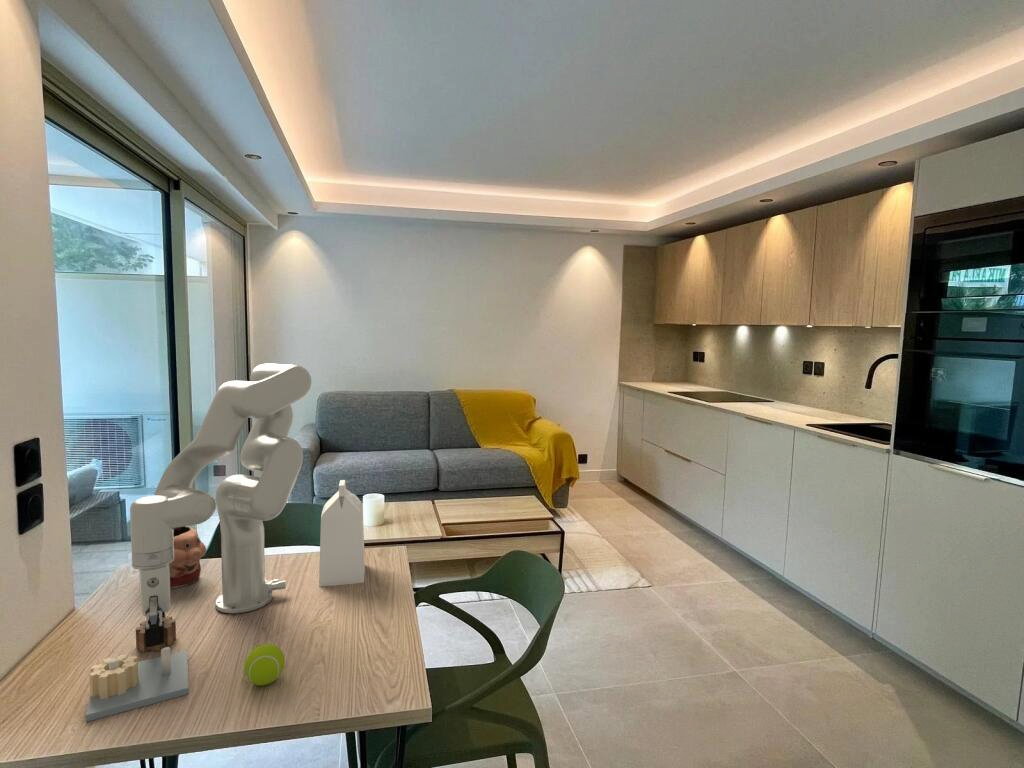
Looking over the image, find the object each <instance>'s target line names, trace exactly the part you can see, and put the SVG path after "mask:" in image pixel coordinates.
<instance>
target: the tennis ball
mask: <svg viewBox="0 0 1024 768" xmlns="http://www.w3.org/2000/svg"><path fill="white" fill-rule="evenodd" d="M285 659H286V658H285V654H284V652H283V650H282V649H281V648H280V647H279V646H277V645H276V644H272V643H265V644H261V645H259V646H256V647H255V648H253V649H252V651H251V652H249V654H248V655H247V657H246V660H245V661H244V665H243V666H244V675H245V677H246V679H247V680H248V682H250V683H251V684H253V685H255V686H266V685H270V684H272V683H273V682H275V681H277V679H278V678H279V677H280V676H281V674H282V673H283V671H284V668H285V663H286V660H285Z"/></svg>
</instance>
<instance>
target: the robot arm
mask: <svg viewBox="0 0 1024 768" xmlns="http://www.w3.org/2000/svg"><path fill="white" fill-rule="evenodd" d="M249 380H250V381H248V380H229V381H227V382H223V384H221V385H220V386H219V387H218V389H217V390H216V393H215V395H214V397H213V399H212V401H211V403H210V405H209V407H208V410H207V412H206V414H205V415H204V416H205V417H204V418H203V420H202V423H201V425H200V427H199V429H198V431H197V434H196V436H195V437H194V439H193V440H192V441H191V442H190V443H189V444H188V445H187V446H185V447H184V448H183V449H182V450H181V451H180V452H179V453H178V454H177V455H176V456H175V457H174V458H173V459H172V460H171V462H170V463H169V464H168V465H167V467H166V468H165V470H164V472H163V474H162V476H161V478H160V480H159V482H158V484H157V487H156V489H155V491H154V494H153V495H148V496H143V497H141V498H137V499H135V500H134V501H133V502H132V503H131V504H130V508H129V514H130V516H129V518H130V520H129V521H130V548H131V550H130V552H131V568H133V569H134V570H138V576H139V577H138V578H139V579H138V580H139V594H140V595H139V596H140V604H141V612H142V613H141V614H142V616H143V617H145V618H146V619H145V621H146V628H145V642H146V647H152V646H156V645H160V644H163V643H164V624H162V617H164V618H165V617H166V613H169V612H170V610H171V588H170V569H169V564H170V563H171V562H173V561H174V530H173V529H174V528H177V527H184V526H187V527H191V526H196V525H200V524H203V523H205V522H206V521H208V520H209V519H211V517H212V516H213V515H214V513H215V511H216V510H217V514H218V520H219V525H220V550H221V552H220V553H221V555H220V556H221V585H222V586H221V587H222V589H221V590H222V594H221V595H219V596H218V597H217V598H216V600H215V603H214V604H215V606H214V607H215V608H216V611H219V612H221V613H224V614H241V613H246V612H247V613H248V612H251V611H255V610H257V609H260V608H262V607H264V606H266V605H268V604H269V603H270V602H271V600H272V598H273V591H277V590H284V589H286V580H282V581H281V580H279V578H276V579H273V580H269V579H267V578H266V564H265V562H266V561H265V559H266V558H265V526H264V522H265V521H271V520H273V519H275V518H276V517H278V516H279V515H280V514H281V513H282V511H283V510H284V508H285V506H286V505H287V502H288V501H289V498H290V496H291V493H292V491H293V489H294V487H295V483H296V482H297V478H298V476H299V474H300V472H301V469H302V465H303V463H304V462H303V461H304V454H303V453H304V452H303V447H302V446H301V444H300V442H298V440H296V439H294V438H292V437H290V436H288V434H289V433H290V432H289V431H290V430H291V428H292V427H291V426H292V423H293V419H294V415H293V408H292V404H294V403H296V402H297V401H299V400H301V399H303V398H305V396H306V395H307V394H308V392H309V391H310V389H311V387H312V376H311V374H310V373H309V371H308V370H307V369H306V368H305V367H303V366H301V365H298V364H288V363H287V364H283V363H262V364H258V365H257V366H255V367H254V368H253V369H252V371H251V373H250V379H249ZM249 418H250V419H255V420H254V422H253V425H252V426H251V429H250V431H249V433H248V436H247V437H246V440H245V442H244V444H243V447H242V448H241V450H240V451H241V452H240V456H239V460H240V463H241V465H242V466H243V467H244V468H246V469H247V470H249V471H252V472H253V471H254V472H257V473H261V474H260V477H258V476H253V475H249V474H242V473H241V474H233V475H229V476H227V477H226V478H224V479H223V480H221V482H220V483H219V484H218V486H217V489H216V492H215V496H214V497H215V498H214V497H213V495H211V494H210V493H209V492H207V491H204V490H200V489H196V488H192V485H193V483H194V482H195V480H196V478H197V476H198V475H199V474H200V472H201V471H202V470H203V469H204V468H206V467H207V466H208V465H209V464H212V463H213V462H214V461H217V460H219V459H222V458H224V457H225V456H228V455H230V454H232V453H233V452H234V451H235V449H236V446H237V444H238V441H239V440H240V437H241V434H242V432H243V430H244V428H245V425H246V423H247V421H248V419H249ZM263 521H264V522H263Z"/></svg>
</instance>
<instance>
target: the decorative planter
mask: <svg viewBox="0 0 1024 768" xmlns="http://www.w3.org/2000/svg"><path fill="white" fill-rule="evenodd" d="M173 530H174V561H173V562H171V563H170V564H169V569H170V589H175V588H180V587H181V588H182V587H186V586H187V585H188V586H189V585H190V584H193V583H194V582H196V581H197V580H199V579H200V575H201V570H202V569H201V562H200V561H201V558H203V557H204V556H205V555H206V553H207V547H206V545H205V543H204V542H203V541H202V540H201V539H200V537H199V535H198V534H199V533H198V531H197V530H196V529H194V528H192V527H191V526H184V527H177V528H174V529H173Z"/></svg>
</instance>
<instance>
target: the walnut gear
mask: <svg viewBox="0 0 1024 768" xmlns="http://www.w3.org/2000/svg"><path fill="white" fill-rule="evenodd" d="M162 624H164V643H163V644H160V645H156V646H152V647H146V642H145V628H146V620H143V621H142V622H140V623H139V626H137V627H135V644H136V645H135V648H136V649H138V651H139V652H142V653H143V652H144V653H145V652H146V651H152V652H156V651H161V649H162V648H165V647H169V646H171V645H172V644H174V643H173V641H176V640H177V628H176V627H177V626H176V619H175V618H174V619H173V616H169V615H167V616H165V618H164V617H162Z"/></svg>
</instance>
